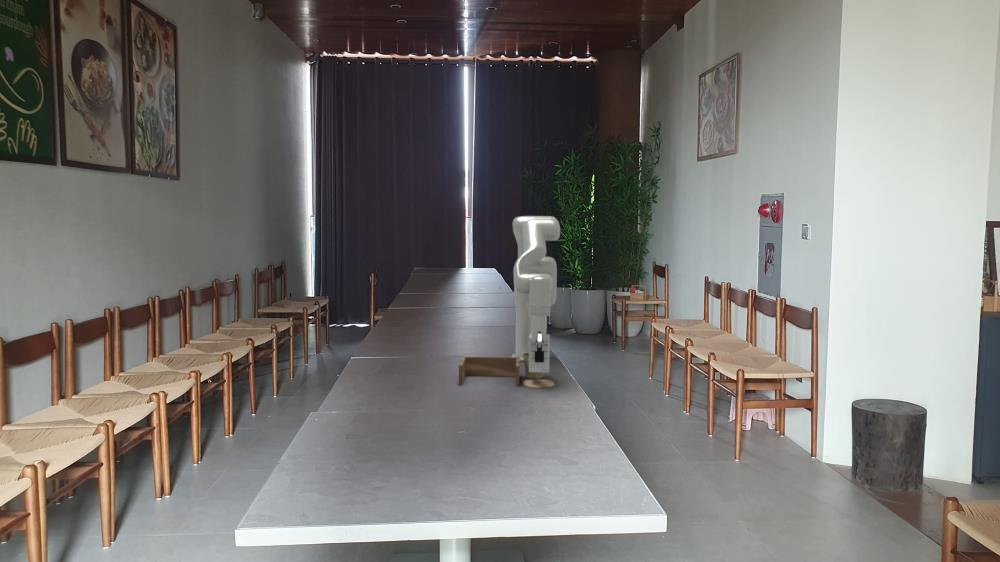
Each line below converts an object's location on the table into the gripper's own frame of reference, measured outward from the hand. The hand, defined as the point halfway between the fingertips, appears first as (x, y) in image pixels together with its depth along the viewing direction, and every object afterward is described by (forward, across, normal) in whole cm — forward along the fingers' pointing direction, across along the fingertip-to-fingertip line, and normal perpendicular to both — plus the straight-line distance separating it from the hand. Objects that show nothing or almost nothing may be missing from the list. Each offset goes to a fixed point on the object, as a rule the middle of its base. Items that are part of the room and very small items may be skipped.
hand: (539, 359), depth 268 cm
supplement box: (+4, 0, 0) cm, 4 cm away
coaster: (+9, 0, 0) cm, 9 cm away
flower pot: (+9, -11, -2) cm, 14 cm away
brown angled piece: (+9, -5, -18) cm, 21 cm away
